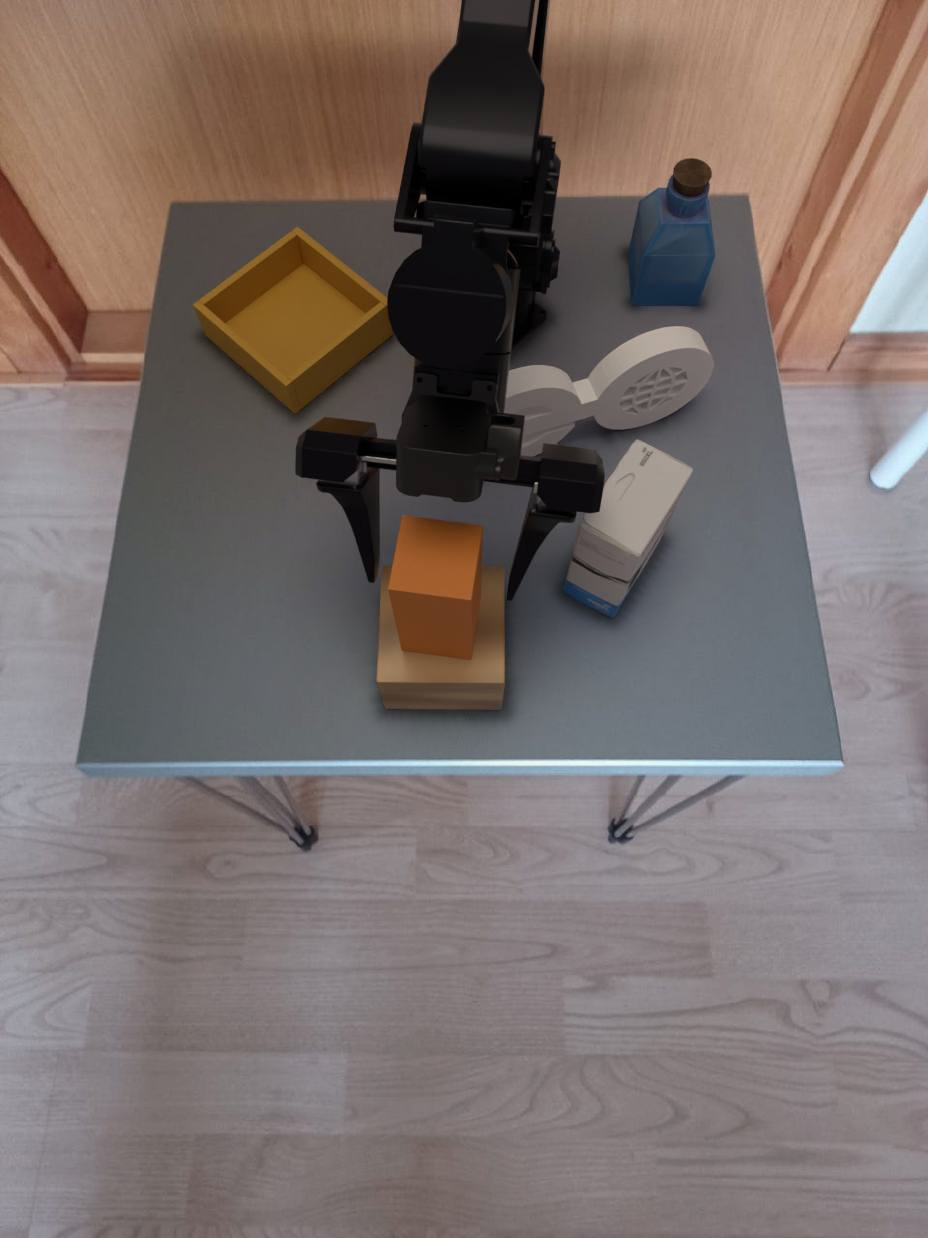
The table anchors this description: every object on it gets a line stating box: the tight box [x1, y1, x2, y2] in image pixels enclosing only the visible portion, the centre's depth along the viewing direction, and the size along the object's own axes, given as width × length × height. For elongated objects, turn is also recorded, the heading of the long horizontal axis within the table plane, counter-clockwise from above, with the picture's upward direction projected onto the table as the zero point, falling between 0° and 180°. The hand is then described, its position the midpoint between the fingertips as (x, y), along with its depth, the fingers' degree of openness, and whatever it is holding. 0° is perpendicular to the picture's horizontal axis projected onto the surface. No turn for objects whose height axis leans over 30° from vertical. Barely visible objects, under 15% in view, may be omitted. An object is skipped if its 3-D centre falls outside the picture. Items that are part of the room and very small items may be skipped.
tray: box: [192, 226, 395, 415], centre depth 78 cm, size 12×12×4 cm
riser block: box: [375, 565, 506, 711], centre depth 65 cm, size 9×9×7 cm
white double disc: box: [504, 325, 715, 457], centre depth 71 cm, size 22×2×10 cm, turn 108°
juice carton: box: [388, 514, 484, 660], centre depth 57 cm, size 5×5×11 cm
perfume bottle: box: [627, 157, 716, 307], centre depth 77 cm, size 6×6×12 cm
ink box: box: [562, 438, 694, 619], centre depth 66 cm, size 8×5×12 cm, turn 148°
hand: (440, 590), depth 58 cm, fingers open, 9 cm apart
